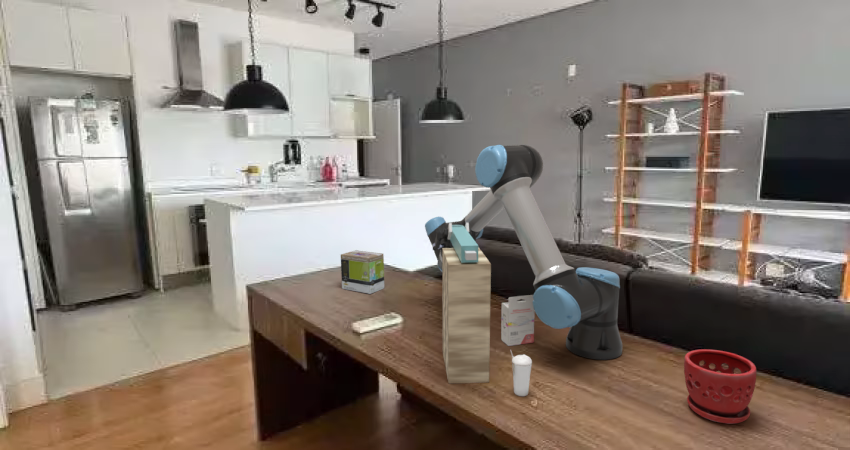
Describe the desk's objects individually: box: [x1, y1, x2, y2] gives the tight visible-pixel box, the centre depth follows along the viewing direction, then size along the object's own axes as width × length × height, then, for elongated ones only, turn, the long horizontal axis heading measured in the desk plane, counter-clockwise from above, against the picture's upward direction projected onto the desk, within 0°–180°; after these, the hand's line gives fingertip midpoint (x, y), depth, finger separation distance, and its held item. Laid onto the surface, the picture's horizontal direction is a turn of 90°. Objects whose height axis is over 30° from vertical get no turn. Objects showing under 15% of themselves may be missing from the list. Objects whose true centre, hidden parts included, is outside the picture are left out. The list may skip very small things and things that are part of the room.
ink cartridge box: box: [500, 294, 535, 347], centre depth 139 cm, size 9×5×15 cm, turn 105°
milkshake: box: [509, 349, 533, 397], centre depth 111 cm, size 4×5×10 cm
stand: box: [441, 247, 492, 384], centre depth 122 cm, size 18×10×30 cm, turn 3°
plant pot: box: [683, 348, 757, 425], centre depth 102 cm, size 13×13×12 cm
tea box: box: [340, 249, 385, 295], centre depth 192 cm, size 15×10×15 cm, turn 58°
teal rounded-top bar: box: [450, 225, 479, 263], centre depth 124 cm, size 33×4×4 cm, turn 3°
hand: (459, 227), depth 131 cm, fingers closed on teal rounded-top bar, 4 cm apart
